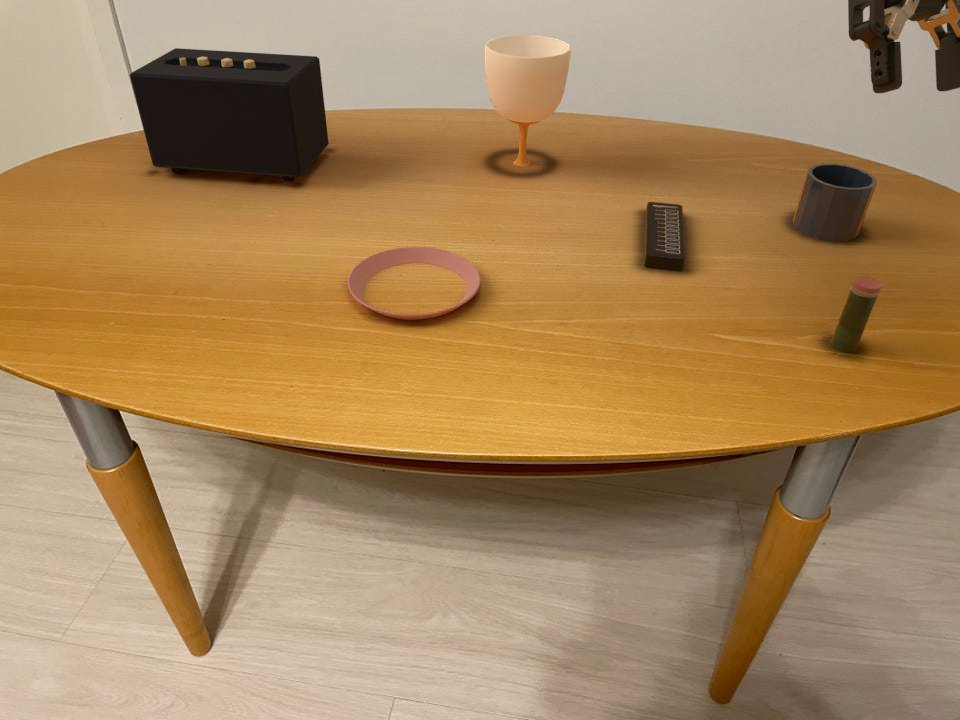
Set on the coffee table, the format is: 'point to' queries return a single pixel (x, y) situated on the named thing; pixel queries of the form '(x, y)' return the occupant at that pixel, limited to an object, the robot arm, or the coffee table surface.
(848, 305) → the pencil
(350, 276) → the ring
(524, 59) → the cup
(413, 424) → the coffee table surface
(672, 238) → the dark brown flat block
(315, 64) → the speaker
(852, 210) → the pen cup
